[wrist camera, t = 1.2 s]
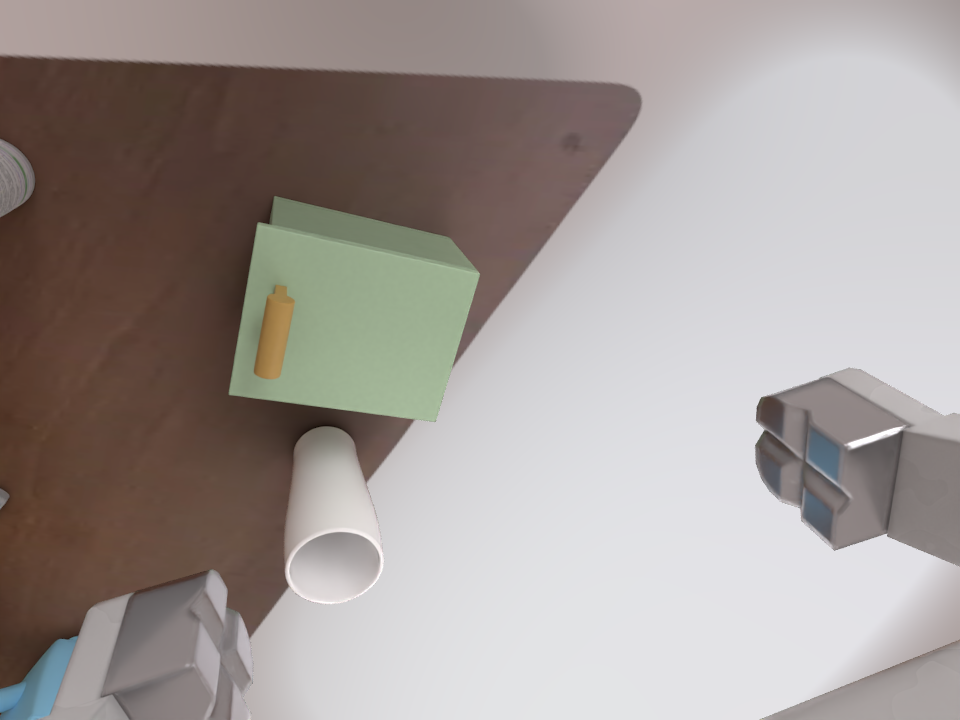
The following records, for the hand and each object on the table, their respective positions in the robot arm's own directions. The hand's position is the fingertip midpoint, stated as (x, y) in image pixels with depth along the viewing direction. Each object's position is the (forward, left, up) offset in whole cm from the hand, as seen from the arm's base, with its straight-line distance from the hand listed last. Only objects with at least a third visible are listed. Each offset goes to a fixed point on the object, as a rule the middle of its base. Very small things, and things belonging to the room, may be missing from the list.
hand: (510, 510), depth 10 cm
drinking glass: (+26, +5, -43) cm, 51 cm away
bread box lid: (+11, +3, -34) cm, 36 cm away
